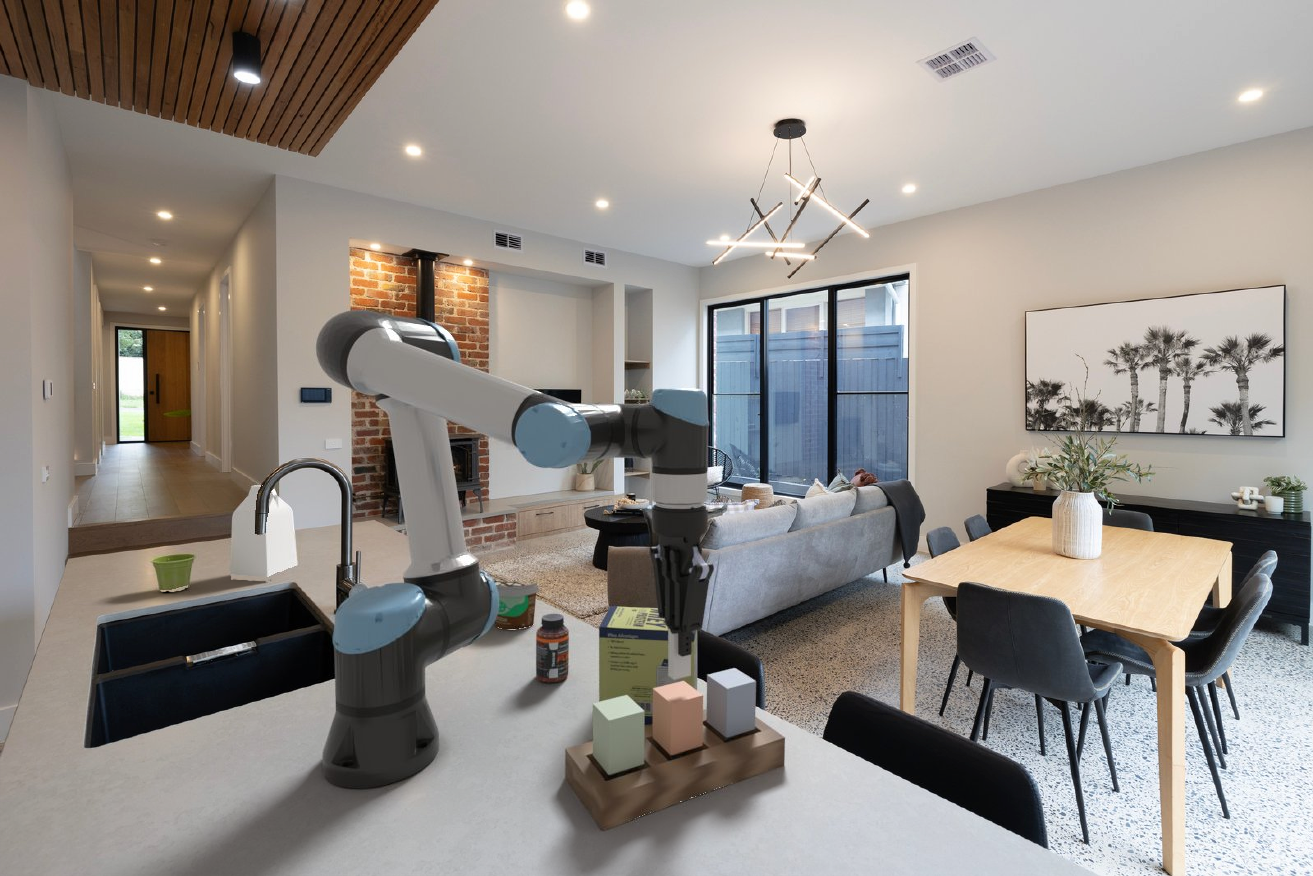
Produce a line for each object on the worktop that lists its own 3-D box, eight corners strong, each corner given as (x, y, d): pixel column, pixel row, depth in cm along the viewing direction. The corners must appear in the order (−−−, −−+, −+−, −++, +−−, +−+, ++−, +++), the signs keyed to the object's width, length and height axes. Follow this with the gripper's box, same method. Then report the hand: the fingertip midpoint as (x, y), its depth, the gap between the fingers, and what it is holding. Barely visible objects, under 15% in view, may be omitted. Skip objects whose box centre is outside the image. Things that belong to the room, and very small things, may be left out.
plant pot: (189, 582, 171) (188, 551, 170) (202, 589, 165) (201, 556, 165) (146, 591, 163) (145, 558, 163) (159, 597, 158) (157, 564, 157)
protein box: (608, 692, 109) (609, 605, 108) (697, 697, 107) (698, 608, 106) (596, 722, 98) (597, 626, 97) (695, 728, 97) (696, 631, 96)
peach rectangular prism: (670, 755, 82) (671, 703, 81) (652, 737, 86) (652, 688, 86) (702, 745, 84) (703, 695, 84) (683, 728, 88) (683, 680, 88)
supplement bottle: (562, 686, 111) (562, 623, 110) (530, 682, 112) (530, 621, 111) (573, 671, 117) (573, 612, 116) (543, 668, 118) (543, 610, 117)
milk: (229, 580, 174) (227, 487, 172) (262, 569, 185) (260, 482, 184) (267, 582, 172) (265, 489, 170) (298, 571, 183) (296, 483, 182)
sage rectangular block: (608, 775, 77) (609, 720, 77) (592, 755, 82) (592, 703, 81) (644, 764, 80) (644, 711, 79) (626, 745, 84) (627, 695, 84)
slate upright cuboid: (726, 738, 86) (727, 688, 86) (706, 721, 90) (707, 674, 90) (755, 729, 89) (756, 681, 88) (734, 713, 93) (734, 667, 93)
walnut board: (601, 831, 73) (602, 798, 73) (565, 777, 84) (565, 748, 83) (784, 765, 87) (784, 737, 87) (733, 725, 97) (733, 701, 97)
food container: (476, 627, 139) (476, 583, 138) (493, 618, 145) (493, 576, 144) (523, 635, 134) (523, 590, 134) (539, 626, 140) (538, 582, 139)
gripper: (731, 508, 79) (730, 688, 81) (678, 495, 91) (678, 653, 92) (681, 513, 76) (681, 702, 77) (632, 499, 87) (633, 663, 88)
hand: (679, 675), depth 84 cm, fingers closed
